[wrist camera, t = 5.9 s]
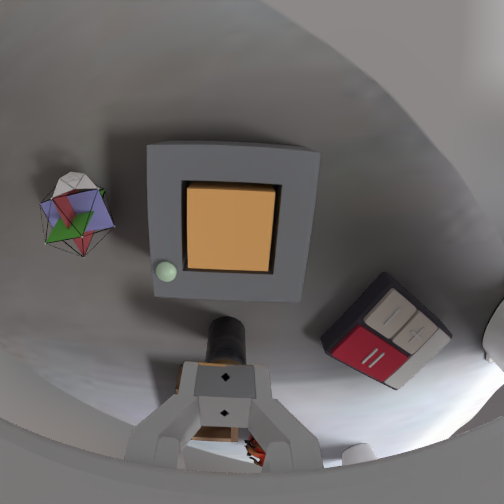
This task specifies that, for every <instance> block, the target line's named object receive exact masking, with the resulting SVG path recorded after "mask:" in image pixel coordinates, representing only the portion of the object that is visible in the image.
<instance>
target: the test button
mask: <svg viewBox="0 0 504 504" xmlns="http://www.w3.org/2000/svg"><path fill="white" fill-rule="evenodd" d="M274 202H275V191H274V189H273V187H272V185H271V184H261V183H243V182H220V181H193V182H192V183H191V184H190V186H189V187H188V188H187V250H188V268H200V269H223V270H248V271H268V266H269V256H270V246H271V235H272V224H273V213H274Z"/></svg>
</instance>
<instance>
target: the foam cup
mask: <svg viewBox="0 0 504 504" xmlns="http://www.w3.org/2000/svg"><path fill="white" fill-rule="evenodd" d="M341 456H342V466H344V465H350V464H356V463H361V462H366V461H371V460H376V459H378V458H377V456H376V454H375V452H374V450H373V448H372V447H371V445H370V444H367V443H364V444H358V445H355V446H352V447H350V448H348V449H347V450H345V451H344V452H343V453H342V455H341Z"/></svg>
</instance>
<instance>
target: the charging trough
mask: <svg viewBox="0 0 504 504" xmlns="http://www.w3.org/2000/svg"><path fill="white" fill-rule="evenodd" d="M182 369H183V366H180V368H179V373H178V379H177V384H176V394H178V391H179V385H180V380H181V375H182ZM238 430H239V428H237V427H216V426H201V428H200V429H199V430H198V431H197V432H196V434H195V435H194V436H193V437H192V438H191V440H201V441H220V442H238Z"/></svg>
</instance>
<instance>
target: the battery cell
mask: <svg viewBox="0 0 504 504" xmlns="http://www.w3.org/2000/svg"><path fill="white" fill-rule="evenodd" d="M205 363H213V364H231V365H246V346H245V328H244V326H243V324H242V323H241V322H240V321H239V320H237V319H235V318H232V317H221V318H218V319H216V320H214V321H213V322H212V323H211V325H210V327H209V333H208V342H207V351H206V360H205Z"/></svg>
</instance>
